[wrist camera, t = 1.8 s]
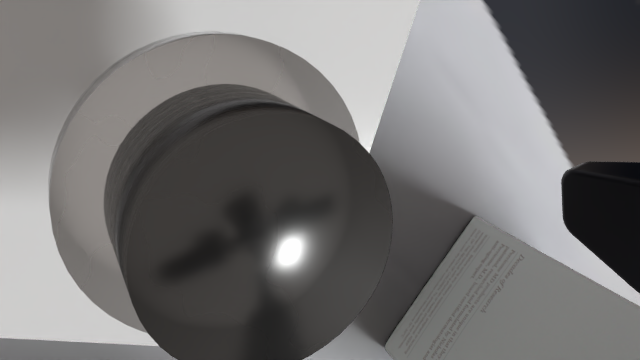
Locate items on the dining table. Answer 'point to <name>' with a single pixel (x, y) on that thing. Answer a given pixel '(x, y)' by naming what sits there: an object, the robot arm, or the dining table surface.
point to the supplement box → (513, 308)
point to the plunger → (219, 200)
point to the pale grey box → (95, 58)
